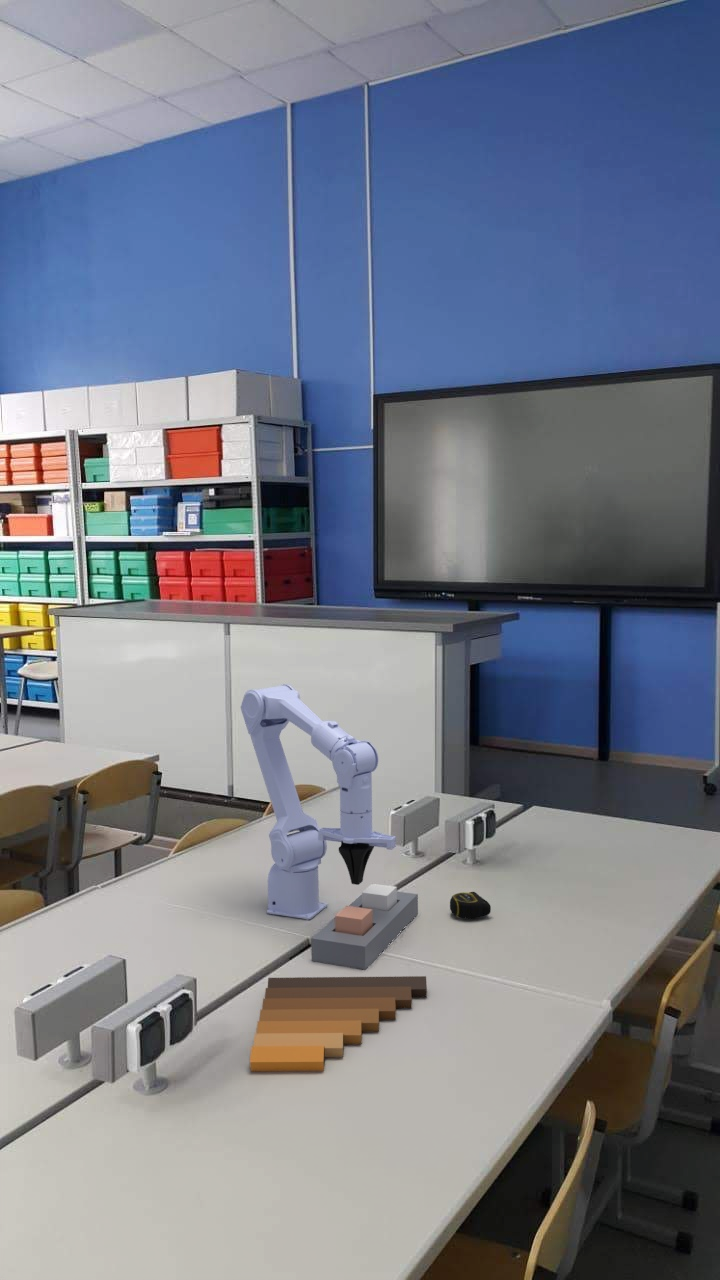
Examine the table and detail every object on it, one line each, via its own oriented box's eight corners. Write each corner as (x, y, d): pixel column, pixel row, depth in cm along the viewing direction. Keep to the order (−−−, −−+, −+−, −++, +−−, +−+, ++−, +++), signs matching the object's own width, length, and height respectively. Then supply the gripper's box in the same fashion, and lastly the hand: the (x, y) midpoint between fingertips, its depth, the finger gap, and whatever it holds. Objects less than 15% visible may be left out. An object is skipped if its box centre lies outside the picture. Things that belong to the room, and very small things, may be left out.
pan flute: (425, 991, 161) (270, 993, 161) (425, 971, 161) (269, 972, 161) (434, 1075, 136) (250, 1076, 137) (434, 1051, 136) (249, 1053, 136)
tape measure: (492, 920, 189) (492, 901, 188) (458, 925, 187) (458, 905, 186) (477, 907, 195) (477, 888, 195) (444, 912, 193) (444, 893, 193)
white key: (362, 916, 186) (361, 892, 185) (372, 906, 190) (372, 883, 190) (387, 919, 184) (387, 895, 183) (397, 910, 189) (396, 886, 188)
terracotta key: (335, 940, 175) (335, 915, 174) (347, 930, 180) (346, 905, 179) (362, 944, 173) (361, 919, 173) (373, 933, 178) (372, 909, 177)
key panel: (311, 960, 172) (311, 938, 172) (369, 907, 196) (369, 887, 195) (365, 969, 168) (365, 946, 168) (418, 914, 192) (417, 894, 191)
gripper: (310, 811, 180) (311, 884, 182) (384, 819, 174) (385, 895, 176) (327, 801, 186) (328, 872, 188) (399, 809, 181) (400, 882, 182)
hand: (357, 882), depth 182 cm, fingers closed
